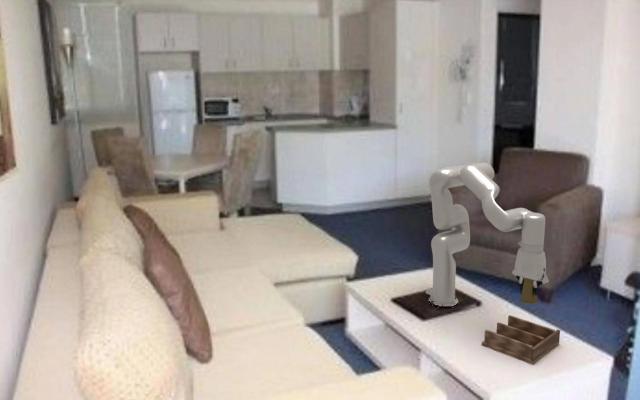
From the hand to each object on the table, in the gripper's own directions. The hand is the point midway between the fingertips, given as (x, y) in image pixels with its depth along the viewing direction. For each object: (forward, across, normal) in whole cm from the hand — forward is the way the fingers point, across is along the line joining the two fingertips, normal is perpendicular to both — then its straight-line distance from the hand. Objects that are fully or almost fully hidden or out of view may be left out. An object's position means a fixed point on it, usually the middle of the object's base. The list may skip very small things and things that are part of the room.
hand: (528, 294), depth 209 cm
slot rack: (+19, 0, -4) cm, 19 cm away
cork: (+2, 0, 0) cm, 2 cm away
